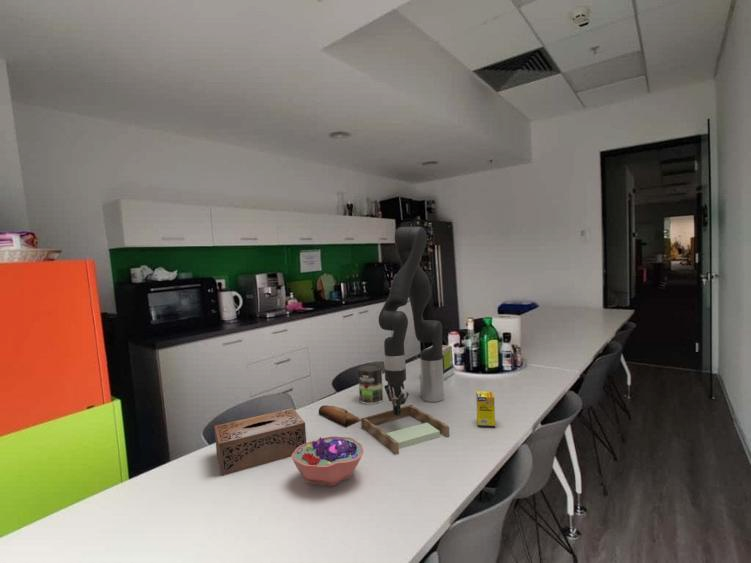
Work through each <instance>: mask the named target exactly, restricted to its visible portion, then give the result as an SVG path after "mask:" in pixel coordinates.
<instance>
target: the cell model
mask: <svg viewBox="0 0 751 563" xmlns="http://www.w3.org/2000/svg"><path fill="white" fill-rule="evenodd" d="M364 452H365V451H364V448H363V445H362V443H360V442H358V441H357V440H356V439H354V438H351V437H346V436H344V437H343V436H327V437H319V438H317V439H313V440H311V441H309V442H306V443H305V444H303V445H301V446H299V447H298V448H297V449H296V450H295V451H294V452H293V453H292V456H291V457H290V458H291V459H292V461H293V464H294V466H295V467H296V469H297V471H298V472H299V474H300V475H301V476H302V478H303V479H304V481H305V482H307V484H311V485H315V486H316V485H320V486H326V487H327V486H329V487H334V486H336V485H338V484H339V483H341V482H343V481H346V480H348V479H349V478H350V477H351V476H352V475H353V473H354V472H355V470H356V469H357V467H358V465H359V463H360V461H361V459H362V457H363V455H364Z"/></svg>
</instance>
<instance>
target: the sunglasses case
mask: <svg viewBox="0 0 751 563" xmlns="http://www.w3.org/2000/svg"><path fill="white" fill-rule="evenodd" d="M318 414H319V415H321V416H325V417H327V418H329V419H331V420H333V421H335V422H337V423H339V424H341V425H343V426H344V427H346V428H348V427H351V426H353V425H355V424H357V423H359V422H361V418H360V417H358V416H356V415H355V414H353V413H351V412H349V411H348V410H347V409H346V408H343V407H338V406H336V405H335V406H334V405H325V404H324V405H320V406H319V409H318Z"/></svg>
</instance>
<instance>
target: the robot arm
mask: <svg viewBox="0 0 751 563" xmlns="http://www.w3.org/2000/svg"><path fill="white" fill-rule="evenodd" d="M427 240H428V238H427V232H426V230H425V228H423V227H422V226H399V227H398V228H396V230H395V232H394V245H395V248H396V253H397V255H398V257H399V261H400V263H401V264H400V265H401V268H400V269H399V270H398V272H397V273H396V274H395V275H394V277H393V279H392V281H391V285H390V290H389V293H388V297H387V299H386V300H385V303H383V304H384V305H383V306H382V307H381V310H380V312H379V315H378V324H379V327H380V328H381V330H384V331H392V332H393V333H392V336H389V337H386V338H385V339H384V343H383V346H384V347H383V350H384V358H383V359H384V360H383V364H384V365H383V366H384V380H385V381H386V382H387V385H384V386H383V387H384V388H383V389H384V390H385V393H386V396H387V399H388V401H389V402H391V404H392V410H393V414H394V415H395V416H398V415H400V414H401V407H402V405H404V404H405V403H406V402H407V399H408V397H409V395H410V394H409V393H408V392H406V391H405V385H404V382H405V381H406V380H407V371H406V370H407V368H406V366H407V365H406V362H407V361H406V356H405V340H406V336H407V332H408V327H409V326H408V325H409V320H408V316H407V314H406V313H405V312H404V311H401V310H398V309H399V308H400V307H404V306H406V305H407V303H408V302H409V303H410V307H411V313H412V320H413V327H414V328H413V329H414V335H415V338H416V340H417V341H418V342H419V343H429V344H430V343H432V345H431V346H432V347H431V346H430V347H431V348H429V347H428V348H429V349H427V348H425V349H423V350H421V351H420V352H419V354H420V355H419V358H420V376H419V381H420V397H421V399H422V400H423V401H426V402H430V403H438V402H441V401H443V400H444V399H445V394H444V389H445V387H444V381H443V362H442V345H443V325H442V322H441V321H439V320H431V319H430V320H429V319H427V320H425V319H424V317H423V316H424V310H425V308H426V307H427V305H428V304H429V301H430V299H431V297H432V289H431V284H430V283H431V282H430V279H429V276H428V275H427V273H426V272H425V271H424V270H423V269H422V267H421V266H420V265H419V264H420V262H421V259H422V257H423V254H424V251H425V249H426V246H427Z"/></svg>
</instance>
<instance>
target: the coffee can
mask: <svg viewBox="0 0 751 563" xmlns="http://www.w3.org/2000/svg"><path fill="white" fill-rule="evenodd" d="M357 371H358V387H359V390H358V391H359V402H360V403H361V404H364V405H375V404H380V403H382V402H383V401H384V390H383V389H384V388H383V387H384V386H383V385H384V384H383V367H382V365H379V364H364V365H360V366H359V367H358V368H357Z"/></svg>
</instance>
